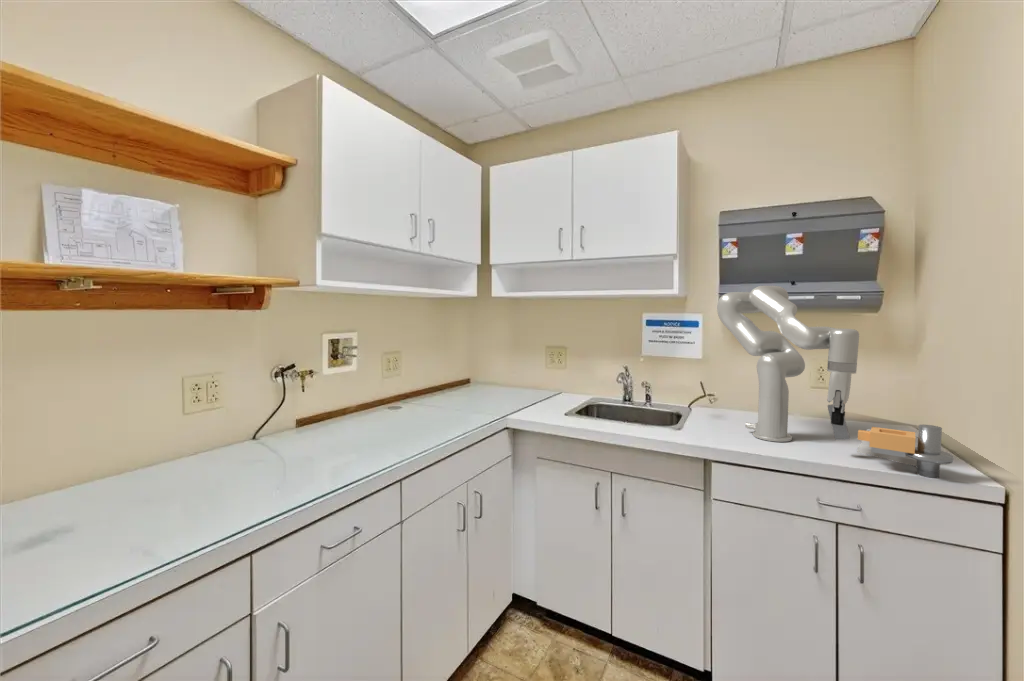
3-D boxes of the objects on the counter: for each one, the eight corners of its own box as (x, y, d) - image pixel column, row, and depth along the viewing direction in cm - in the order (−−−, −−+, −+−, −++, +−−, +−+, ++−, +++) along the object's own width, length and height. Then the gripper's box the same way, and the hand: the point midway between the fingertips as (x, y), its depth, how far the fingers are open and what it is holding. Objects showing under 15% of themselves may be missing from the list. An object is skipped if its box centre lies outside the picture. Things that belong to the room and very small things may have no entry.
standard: (950, 474, 128) (953, 426, 127) (953, 484, 120) (956, 433, 119) (872, 460, 140) (874, 416, 139) (870, 469, 132) (872, 422, 131)
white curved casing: (855, 451, 149) (862, 422, 150) (862, 454, 151) (869, 425, 152) (918, 467, 134) (925, 434, 135) (925, 469, 136) (932, 438, 137)
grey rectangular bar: (835, 439, 144) (827, 406, 144) (836, 438, 145) (828, 404, 146) (849, 439, 141) (840, 405, 142) (849, 437, 143) (841, 403, 144)
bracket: (914, 447, 132) (915, 432, 132) (914, 453, 126) (915, 438, 126) (859, 439, 141) (859, 424, 140) (856, 444, 135) (857, 430, 134)
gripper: (830, 363, 151) (826, 416, 152) (823, 368, 139) (819, 426, 141) (858, 365, 146) (854, 420, 147) (854, 371, 134) (849, 431, 136)
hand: (837, 423), depth 144 cm, fingers closed on grey rectangular bar, 2 cm apart
